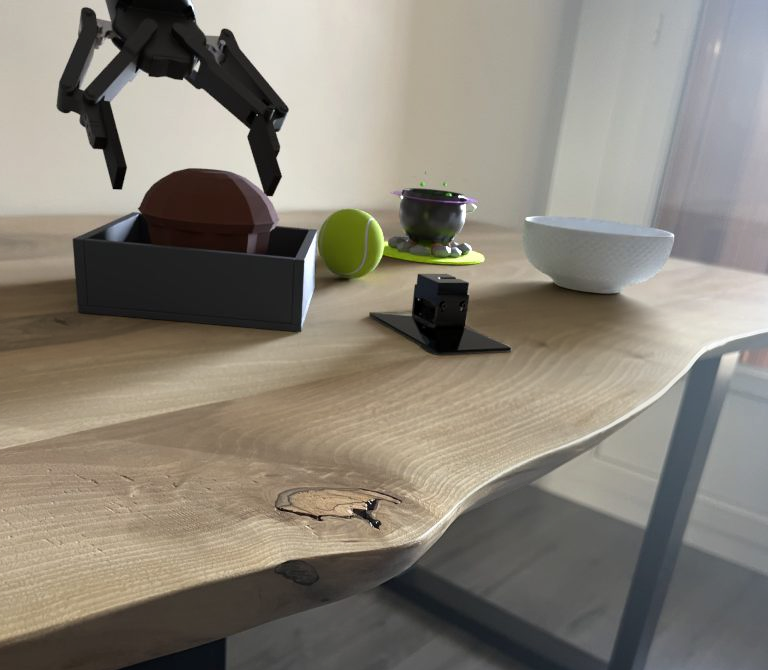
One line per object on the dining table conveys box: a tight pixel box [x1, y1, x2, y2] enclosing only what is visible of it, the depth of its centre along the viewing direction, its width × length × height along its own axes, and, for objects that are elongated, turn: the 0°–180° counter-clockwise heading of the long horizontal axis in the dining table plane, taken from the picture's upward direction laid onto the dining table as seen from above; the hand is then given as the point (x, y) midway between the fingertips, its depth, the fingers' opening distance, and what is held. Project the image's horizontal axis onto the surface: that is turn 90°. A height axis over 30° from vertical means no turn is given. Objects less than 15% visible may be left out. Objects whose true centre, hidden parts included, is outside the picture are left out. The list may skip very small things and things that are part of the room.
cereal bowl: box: [521, 215, 675, 294], centre depth 95 cm, size 17×17×7 cm
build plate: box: [368, 273, 512, 356], centre depth 68 cm, size 12×7×5 cm, turn 27°
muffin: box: [137, 167, 281, 255], centre depth 70 cm, size 12×11×10 cm
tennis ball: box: [317, 208, 385, 279], centre depth 86 cm, size 7×7×7 cm
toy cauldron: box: [382, 163, 485, 265], centre depth 105 cm, size 15×15×11 cm
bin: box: [72, 211, 319, 333], centre depth 71 cm, size 18×18×6 cm
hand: (200, 183), depth 70 cm, fingers open, 13 cm apart
